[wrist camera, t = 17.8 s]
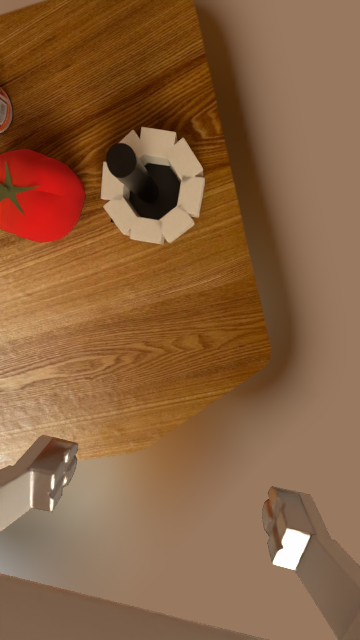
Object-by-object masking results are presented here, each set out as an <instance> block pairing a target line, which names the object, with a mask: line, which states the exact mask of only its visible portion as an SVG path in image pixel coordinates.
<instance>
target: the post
mask: <svg viewBox="0 0 360 640" xmlns="http://www.w3.org/2000/svg"><path fill="white" fill-rule="evenodd" d="M106 163H107V167H108V169H109V171H110V172H111V174H112V175H113V176H115V177H116V178H117V179H118V180H119V181H120V182H121V183H123V184H124V185H125V186H126V187H127V188H128V189H129V190H130V196H129V202H130V203H131V204H132V206H133V207H134V209H135V210H136V212H137V213H138V215H139V216H140V217H143V218H149V219H155V220H160V219H161V218H162V217H163V216H165V215H166V214H167V213H168V212H170V211H171V210H172V209H173V208H175V207H176V206H177V203H178V197H179V190H180V184H181V182H180V181H179V179H178V178H177V176H176V175H175V173H174V172H173V170H172V169H171V167H170V166H166V165H159V164H153V163H147V164H146V165H145V166H144V165H143V164H142V162H141V161H140V159H139V158H138V156H137V155H136V153H135V152H134V150H133V149H132V148H131V147H130V146H129V145H127V144H125V143H117V144H115V145H113V146H112V147H111V148H110V149H109V151H108V153H107V157H106ZM111 222H112V223H114V221H113V220H112V218H111Z"/></svg>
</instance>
